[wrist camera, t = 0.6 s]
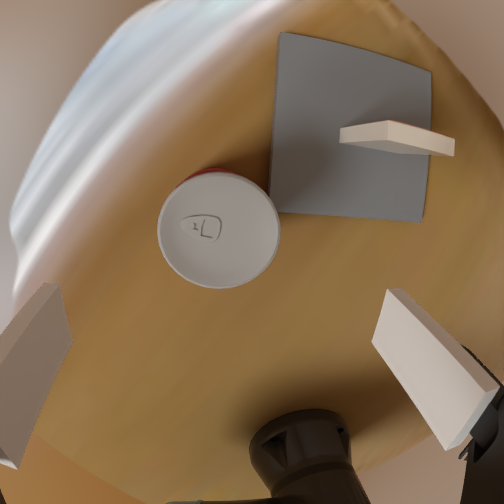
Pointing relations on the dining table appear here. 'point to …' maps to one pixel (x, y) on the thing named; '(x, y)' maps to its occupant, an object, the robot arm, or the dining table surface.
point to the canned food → (218, 229)
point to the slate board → (339, 116)
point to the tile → (398, 138)
